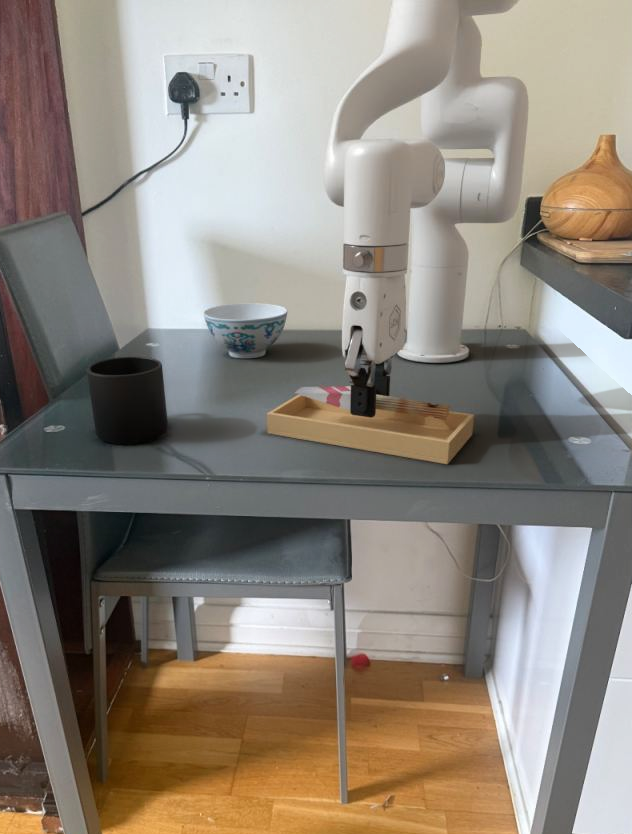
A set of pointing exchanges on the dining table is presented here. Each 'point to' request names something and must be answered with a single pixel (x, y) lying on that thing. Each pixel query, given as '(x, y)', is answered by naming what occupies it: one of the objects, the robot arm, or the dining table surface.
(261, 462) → the dining table surface
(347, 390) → the folding fan
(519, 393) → the dining table surface
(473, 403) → the dining table surface
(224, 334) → the chinaware
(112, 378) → the mug
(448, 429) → the brush tray
